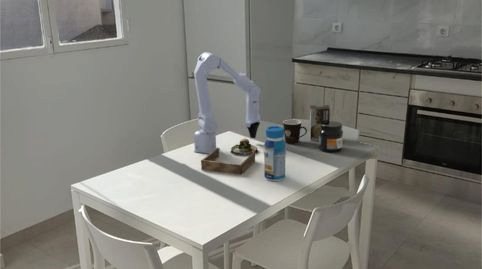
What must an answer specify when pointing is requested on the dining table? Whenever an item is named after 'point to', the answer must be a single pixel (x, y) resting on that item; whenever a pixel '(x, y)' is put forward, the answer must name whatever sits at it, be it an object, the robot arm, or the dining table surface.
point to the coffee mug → (292, 131)
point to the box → (225, 164)
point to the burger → (244, 147)
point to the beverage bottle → (274, 154)
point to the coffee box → (318, 119)
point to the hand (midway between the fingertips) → (253, 137)
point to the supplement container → (330, 136)
